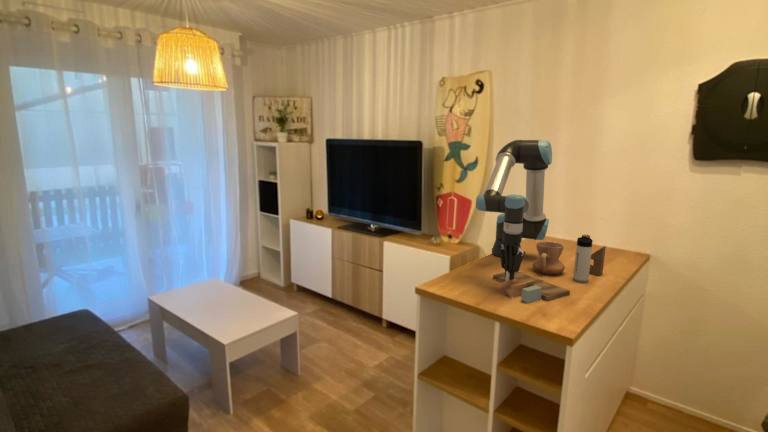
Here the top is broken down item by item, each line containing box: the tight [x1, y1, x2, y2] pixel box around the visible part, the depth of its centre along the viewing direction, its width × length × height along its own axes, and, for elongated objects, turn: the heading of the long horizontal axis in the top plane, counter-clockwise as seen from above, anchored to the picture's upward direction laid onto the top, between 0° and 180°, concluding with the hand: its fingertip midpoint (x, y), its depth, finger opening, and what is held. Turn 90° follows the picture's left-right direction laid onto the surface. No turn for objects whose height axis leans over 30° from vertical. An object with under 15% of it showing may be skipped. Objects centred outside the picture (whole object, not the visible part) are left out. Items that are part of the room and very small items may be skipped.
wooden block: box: [581, 234, 607, 277], centre depth 196 cm, size 4×11×18 cm, turn 43°
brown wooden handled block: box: [500, 279, 535, 298], centre depth 171 cm, size 6×16×5 cm, turn 119°
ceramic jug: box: [532, 240, 566, 276], centre depth 196 cm, size 18×14×14 cm
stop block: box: [520, 285, 542, 304], centre depth 163 cm, size 3×8×5 cm, turn 120°
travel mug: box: [572, 235, 594, 284], centre depth 184 cm, size 6×7×20 cm
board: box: [492, 271, 571, 302], centre depth 178 cm, size 30×14×2 cm, turn 30°
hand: (508, 285), depth 173 cm, fingers closed
